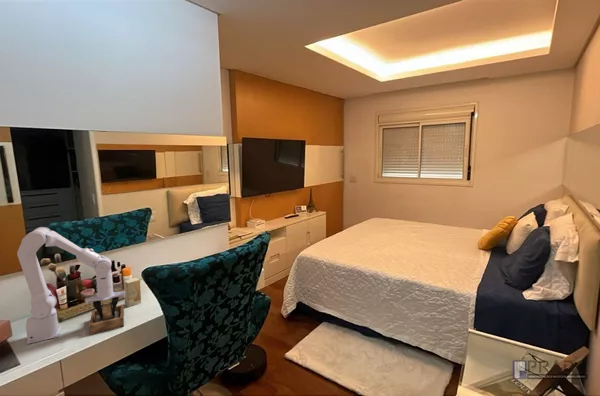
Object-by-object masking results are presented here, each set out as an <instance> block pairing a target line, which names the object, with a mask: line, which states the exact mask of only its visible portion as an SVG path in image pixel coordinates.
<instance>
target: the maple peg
mask: <svg viewBox="0 0 600 396" xmlns="http://www.w3.org/2000/svg"><path fill="white" fill-rule="evenodd" d="M101 309H102V321H105V320H110V319H113V309H112V301H111V302H110V301H109V302H107V301H106V302H104V303H101Z"/></svg>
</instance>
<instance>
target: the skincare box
mask: <svg viewBox="0 0 600 396" xmlns="http://www.w3.org/2000/svg"><path fill="white" fill-rule="evenodd" d="M123 291H125V297H123V298H124V305H125V306H126V307H128V308H130V307H132V306H135V305H139V304H142V296H141V294H142V293H141V292H142V291H141V280H140V278H138V277H135V278H134V277H133V278H129V279H126V280H123Z"/></svg>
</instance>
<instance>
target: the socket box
mask: <svg viewBox="0 0 600 396" xmlns="http://www.w3.org/2000/svg"><path fill="white" fill-rule="evenodd" d="M112 309H113V307H112ZM88 326H89V327H88V328H89V335H94V334H98V332H99V333H102V332H108V331H111V330H116V329H120V328H124V326H125V309H124V304H119V305H118V304H117V305H116V308H115V315H113V319H110V320H105V321H102V318H100V316H99V313H98V311H97V310H96V309H94V310H92V311H91V316H90V320H89V325H88ZM115 328H116V329H115Z"/></svg>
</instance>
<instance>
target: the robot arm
mask: <svg viewBox="0 0 600 396" xmlns="http://www.w3.org/2000/svg"><path fill="white" fill-rule="evenodd" d="M20 243H21V244H20V245H19V247H18V250H17V252H16V254H17V255H16V256H17V258H18V261H19V264H20V266H21V270H22V273H23V275H24V278H25V282H26V284H27V287H28V289H29V292H30V295H31V299H30V305H31V310H30V314H31V317H27V319H26V322H25V331H26V340H27V345H29V344H32V343H37V342H42V341H45V340H47V341H48V340H50V339H56V338H58V337H59V335H60V332H61V330H62V326H59V322H58V313H57V309H56V308H55V306H56V305H57V302H58V301H57V297H56V296H55V295H54V294H52V291H51V290H50V289H49V288H48V285H47V283H46V280H45V277H44V274H43V271H42V268H41V265H40V262H39V259H38V257H37V252H38V251H39V249H40V248H41V247H42V246H43V245H44V244H45V245H44V246H45V247H57V248H59V249H62V250H64V251H66V252H68V253H70V254H72V255H74V256H75V257H76V261H78V262H80V263H82V264H84V265H86V266H88V267H90V268H92V269H93V271H94V273H95V274H96V277H95V279H96V291H97V295H94V296H90V297H86V298H85V299H84V301H85V305H89V304H91V303H92V305H93V308H94V310H97V311H98V313H99V316H100V318H102V309H101V305H102V302H104V301H109V300H111V303H112V307H113V315H115V308H116V306H118V303H119V298H124V297H125V291H124V290H122V291H114V283H113V274H112V264H113V263H112V260H111V258H109V257H108V256H105V255H103V254H100V253H99V254H98V253H97V252H95V251H94V249H93V248H88V247H86V248H82V247H80V246H78V245H77V244H75V243H73V242H72V241H70V240H69V239H68V238H65V237H64V236H62V235H61V234H59V232H56V231H55V230H51V229H50V228H49V227H45V226H39V227H37V228H35V229H34V230H33V231H30V232H29V233H27V234H26V235H25V236H24V237H23V238H22V239H21V242H20Z"/></svg>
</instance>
